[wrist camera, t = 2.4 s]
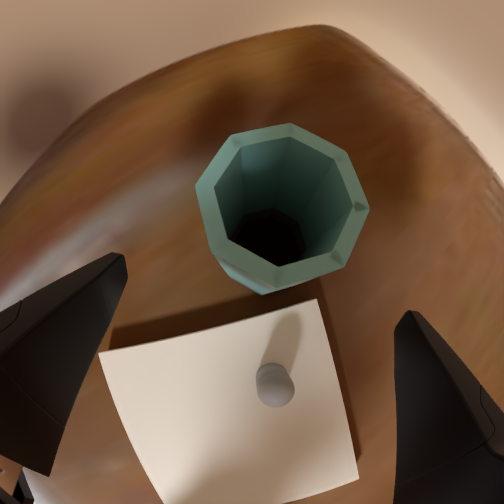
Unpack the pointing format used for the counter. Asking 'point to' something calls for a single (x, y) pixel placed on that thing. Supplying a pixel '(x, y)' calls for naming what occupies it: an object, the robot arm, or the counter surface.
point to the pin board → (236, 410)
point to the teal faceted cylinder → (282, 203)
